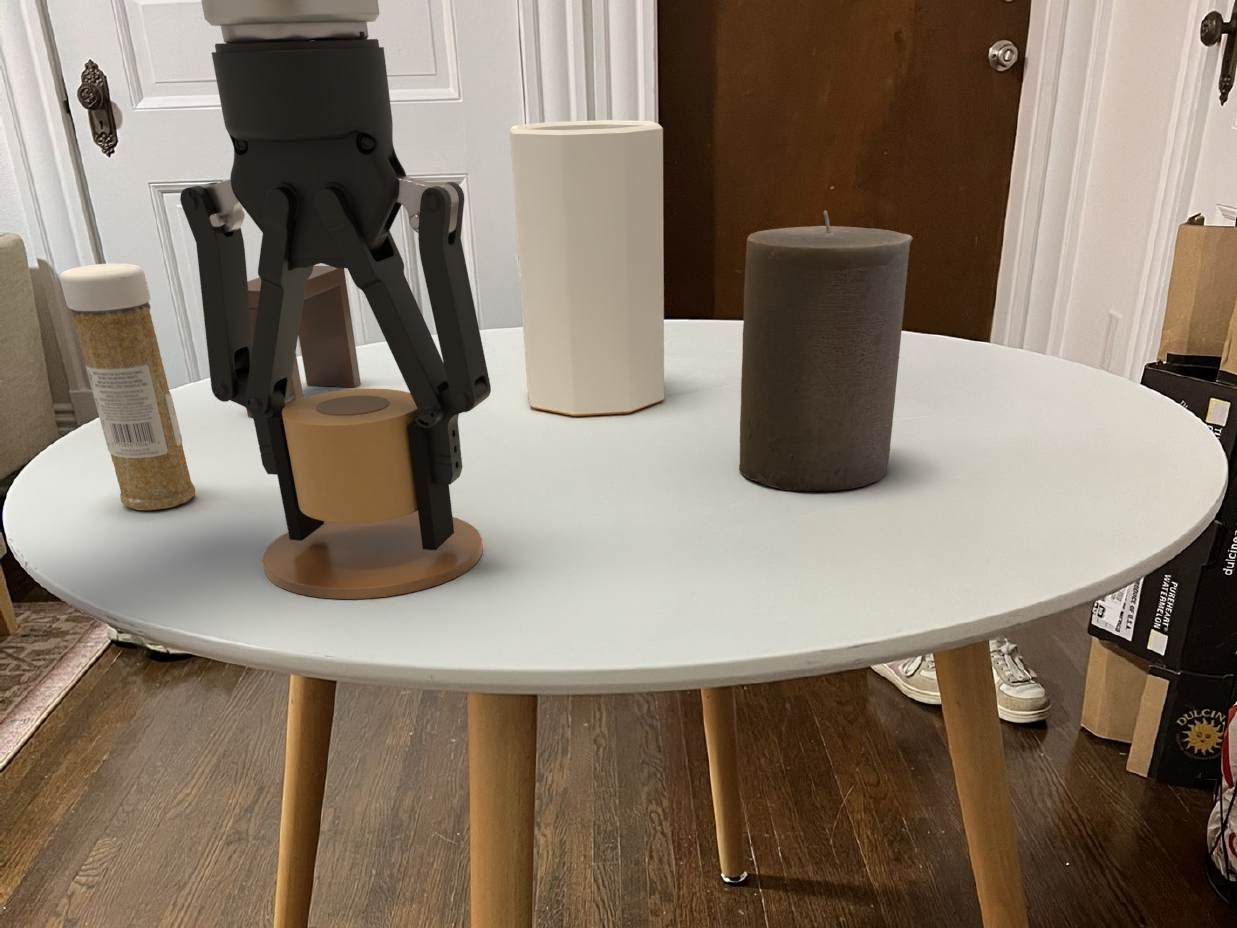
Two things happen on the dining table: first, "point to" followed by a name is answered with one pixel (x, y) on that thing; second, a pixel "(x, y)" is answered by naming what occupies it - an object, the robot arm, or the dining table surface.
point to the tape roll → (352, 454)
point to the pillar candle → (820, 355)
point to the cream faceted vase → (591, 263)
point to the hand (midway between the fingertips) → (372, 535)
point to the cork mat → (369, 559)
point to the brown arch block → (320, 332)
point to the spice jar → (129, 383)
